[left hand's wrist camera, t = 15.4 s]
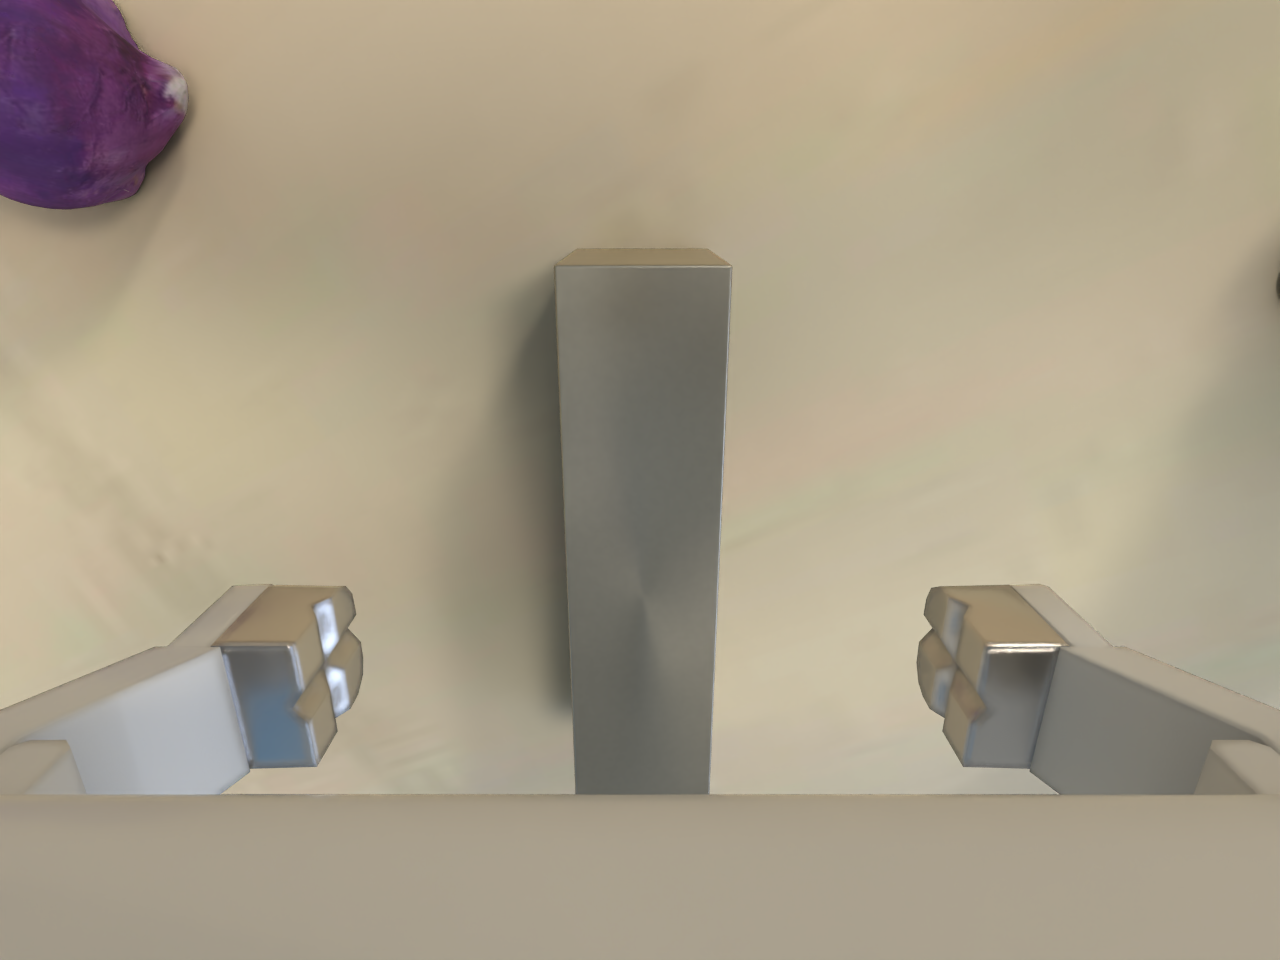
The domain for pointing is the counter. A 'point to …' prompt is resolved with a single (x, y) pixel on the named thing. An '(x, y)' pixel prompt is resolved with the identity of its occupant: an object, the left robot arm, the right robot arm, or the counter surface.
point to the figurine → (79, 104)
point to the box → (642, 509)
